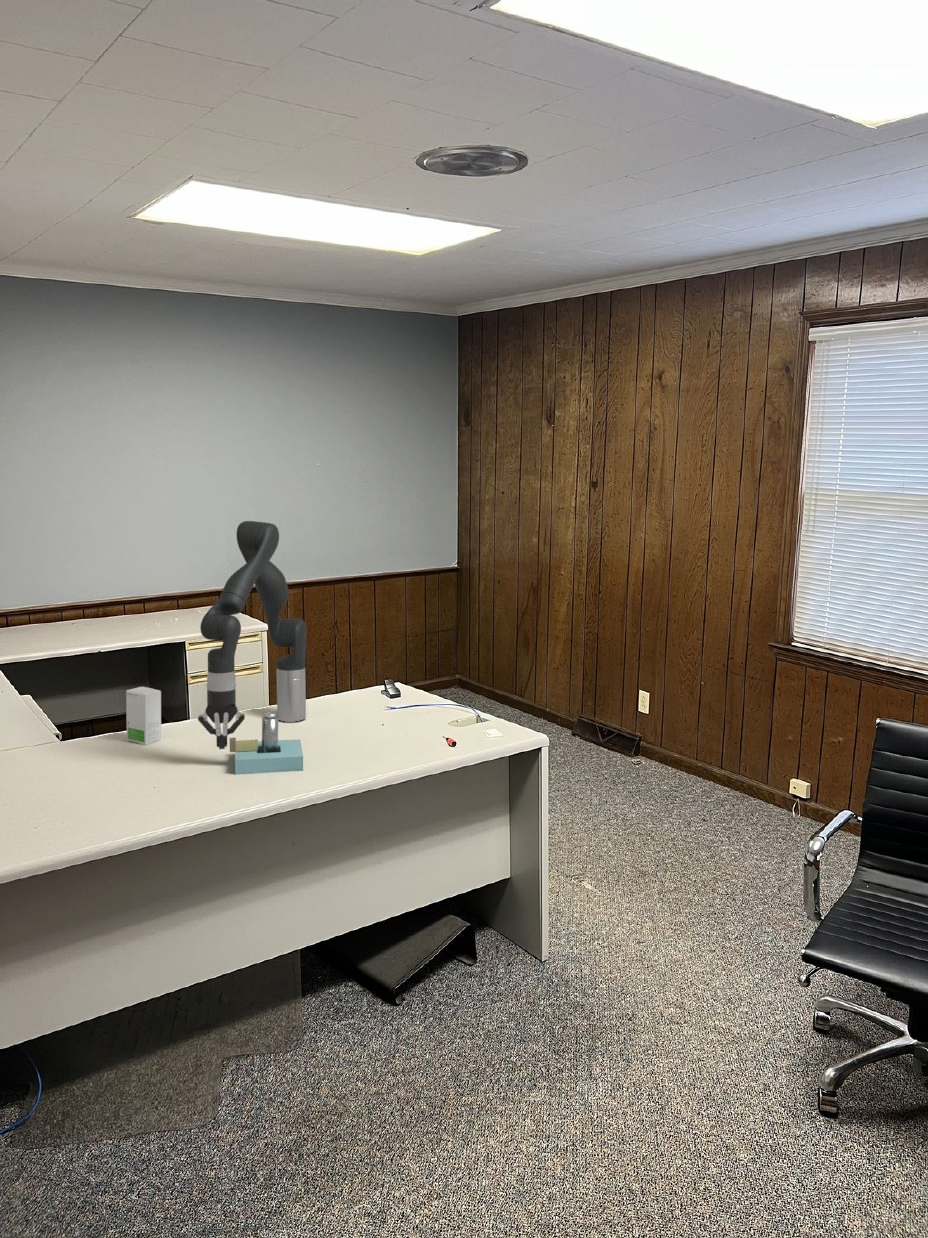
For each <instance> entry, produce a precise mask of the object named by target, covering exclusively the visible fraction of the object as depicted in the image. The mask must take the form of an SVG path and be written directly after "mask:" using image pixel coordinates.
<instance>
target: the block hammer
mask: <svg viewBox="0 0 928 1238" xmlns="http://www.w3.org/2000/svg"><path fill="white" fill-rule="evenodd" d="M258 741H259V739H245V740H244V739H243V740H241V739H240V740H239V739H238V740H237V739H236V737H229V753H235V752H238V751H257V750H258Z"/></svg>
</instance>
